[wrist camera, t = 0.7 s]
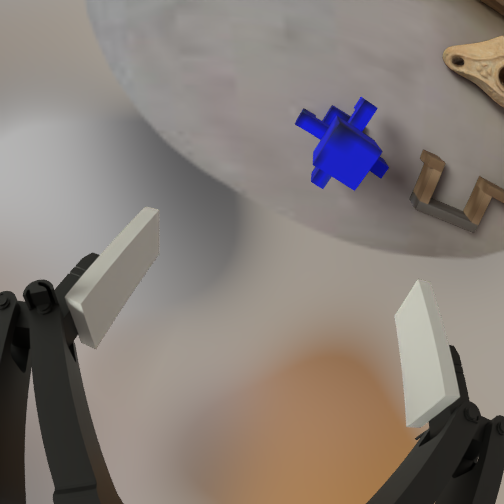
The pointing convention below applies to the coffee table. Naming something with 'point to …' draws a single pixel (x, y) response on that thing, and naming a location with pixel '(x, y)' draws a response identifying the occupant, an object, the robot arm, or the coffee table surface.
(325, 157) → the figurine
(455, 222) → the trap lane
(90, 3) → the coffee table surface
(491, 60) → the pottery oil lamp
